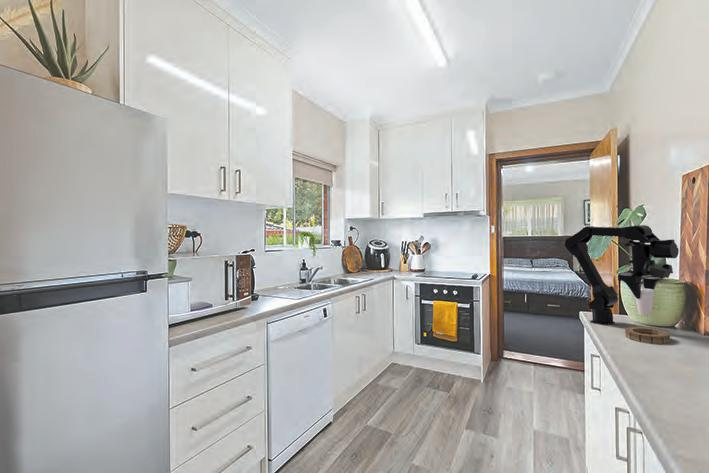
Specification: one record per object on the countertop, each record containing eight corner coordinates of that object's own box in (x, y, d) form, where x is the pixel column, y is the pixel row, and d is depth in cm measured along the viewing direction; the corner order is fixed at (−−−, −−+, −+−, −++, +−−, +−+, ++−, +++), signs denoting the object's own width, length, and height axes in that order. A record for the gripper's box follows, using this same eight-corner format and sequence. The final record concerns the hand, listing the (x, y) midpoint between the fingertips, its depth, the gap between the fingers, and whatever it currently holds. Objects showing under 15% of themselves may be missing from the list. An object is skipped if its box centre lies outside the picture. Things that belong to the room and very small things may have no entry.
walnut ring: (617, 336, 125) (617, 329, 125) (640, 331, 128) (640, 325, 128) (654, 345, 113) (653, 338, 113) (678, 340, 116) (678, 333, 116)
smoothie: (631, 314, 130) (628, 278, 130) (639, 311, 133) (637, 276, 133) (651, 317, 124) (648, 280, 124) (659, 314, 127) (657, 278, 127)
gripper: (648, 260, 118) (651, 304, 118) (682, 256, 123) (685, 298, 123) (615, 259, 129) (618, 299, 128) (648, 255, 134) (651, 293, 134)
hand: (644, 297), depth 128 cm, fingers closed on smoothie, 6 cm apart
